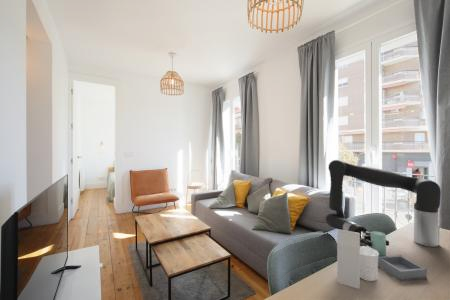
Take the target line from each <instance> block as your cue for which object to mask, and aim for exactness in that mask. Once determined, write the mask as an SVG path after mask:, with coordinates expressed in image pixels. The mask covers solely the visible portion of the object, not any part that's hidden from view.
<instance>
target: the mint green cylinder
mask: <svg viewBox="0 0 450 300" xmlns="http://www.w3.org/2000/svg"><path fill="white" fill-rule="evenodd" d="M370 233H371V241H370V242H372V247H370V248H372V249H374V250H376V251H377V252H378V253H379V257H383V256H387V245H386V240H387V235H386V233H385V232H382V231H376V230H374V231H373V230H372V231H370Z"/></svg>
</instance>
